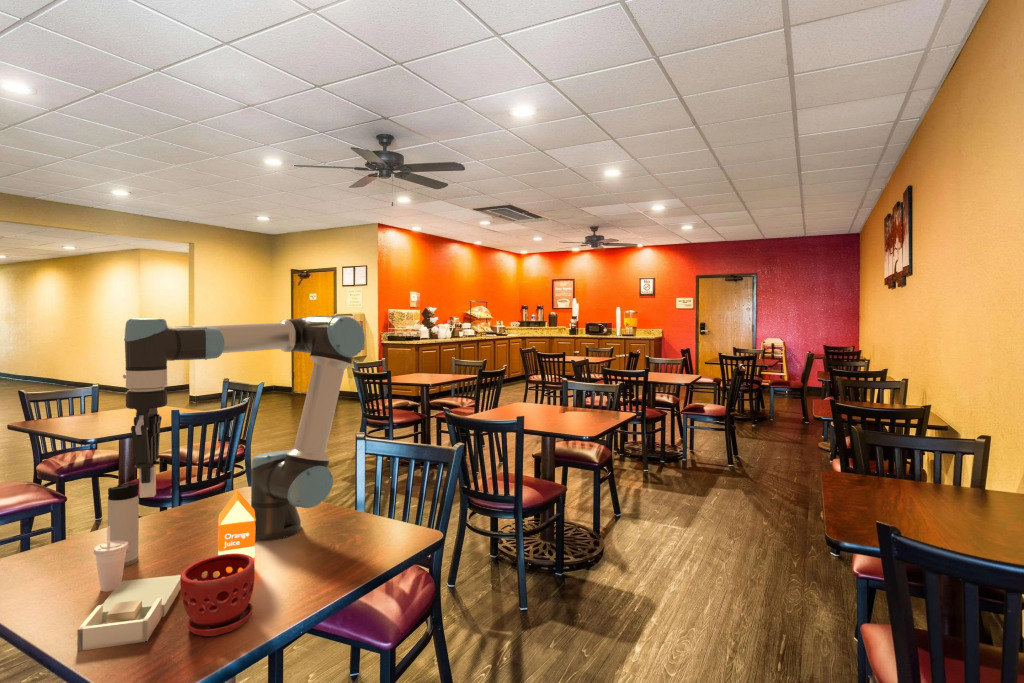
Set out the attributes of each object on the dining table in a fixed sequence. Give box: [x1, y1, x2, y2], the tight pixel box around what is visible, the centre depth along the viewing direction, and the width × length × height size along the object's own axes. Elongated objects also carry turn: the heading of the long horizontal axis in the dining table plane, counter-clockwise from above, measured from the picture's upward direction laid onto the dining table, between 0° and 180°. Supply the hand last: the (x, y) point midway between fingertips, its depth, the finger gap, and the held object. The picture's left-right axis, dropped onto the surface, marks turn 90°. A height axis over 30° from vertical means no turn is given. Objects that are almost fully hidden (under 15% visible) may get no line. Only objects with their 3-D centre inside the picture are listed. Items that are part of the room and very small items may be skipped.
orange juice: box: [217, 489, 256, 578], centre depth 128 cm, size 8×9×20 cm
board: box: [101, 574, 181, 622], centre depth 116 cm, size 12×14×2 cm
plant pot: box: [180, 553, 256, 637], centre depth 108 cm, size 13×13×12 cm
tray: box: [76, 598, 163, 652], centre depth 105 cm, size 11×9×4 cm
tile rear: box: [107, 600, 142, 624], centre depth 106 cm, size 4×4×2 cm
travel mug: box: [107, 482, 140, 568], centre depth 135 cm, size 6×7×20 cm
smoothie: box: [92, 525, 129, 593], centre depth 122 cm, size 6×6×14 cm
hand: (147, 496), depth 118 cm, fingers closed
